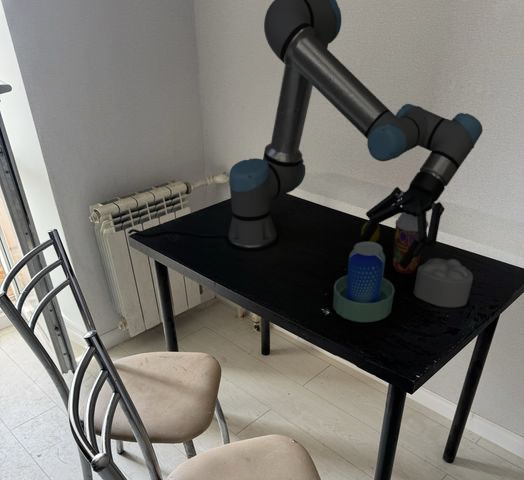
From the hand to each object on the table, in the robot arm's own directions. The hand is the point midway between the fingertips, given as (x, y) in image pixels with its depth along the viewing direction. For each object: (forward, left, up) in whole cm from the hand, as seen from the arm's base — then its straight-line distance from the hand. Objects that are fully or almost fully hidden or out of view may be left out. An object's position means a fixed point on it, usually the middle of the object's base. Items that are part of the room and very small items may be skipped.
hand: (380, 256), depth 121 cm
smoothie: (+11, +16, -13) cm, 23 cm away
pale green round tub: (-3, -3, -13) cm, 13 cm away
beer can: (-3, -3, -13) cm, 13 cm away
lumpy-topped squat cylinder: (+18, +2, -13) cm, 22 cm away
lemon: (+3, +31, -13) cm, 34 cm away
